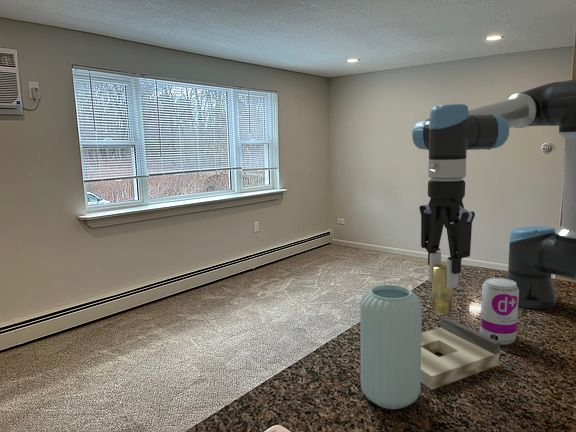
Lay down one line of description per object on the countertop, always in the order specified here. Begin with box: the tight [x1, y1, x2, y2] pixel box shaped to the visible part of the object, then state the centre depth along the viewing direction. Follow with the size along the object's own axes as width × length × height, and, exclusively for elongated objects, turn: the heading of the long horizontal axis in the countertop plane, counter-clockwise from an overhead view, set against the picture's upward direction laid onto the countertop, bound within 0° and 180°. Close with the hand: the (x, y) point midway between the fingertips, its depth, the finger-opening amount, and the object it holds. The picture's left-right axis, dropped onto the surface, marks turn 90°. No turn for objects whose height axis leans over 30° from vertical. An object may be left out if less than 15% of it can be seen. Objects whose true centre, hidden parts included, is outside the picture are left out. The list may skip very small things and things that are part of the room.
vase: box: [359, 284, 423, 410], centre depth 82 cm, size 12×12×22 cm
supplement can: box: [479, 277, 519, 346], centre depth 106 cm, size 8×8×15 cm
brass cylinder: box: [430, 263, 454, 314], centre depth 94 cm, size 4×4×10 cm
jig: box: [420, 316, 501, 391], centre depth 97 cm, size 20×16×6 cm
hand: (443, 283), depth 94 cm, fingers closed on brass cylinder, 4 cm apart
